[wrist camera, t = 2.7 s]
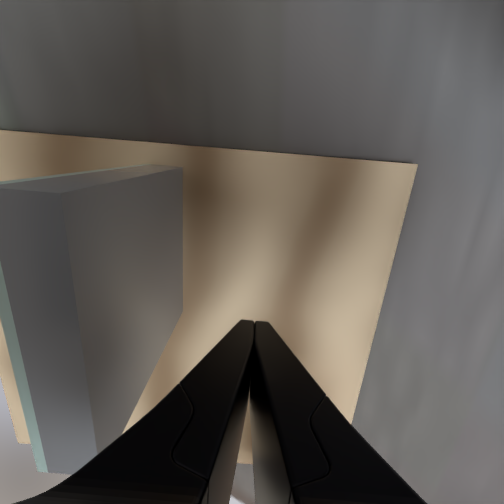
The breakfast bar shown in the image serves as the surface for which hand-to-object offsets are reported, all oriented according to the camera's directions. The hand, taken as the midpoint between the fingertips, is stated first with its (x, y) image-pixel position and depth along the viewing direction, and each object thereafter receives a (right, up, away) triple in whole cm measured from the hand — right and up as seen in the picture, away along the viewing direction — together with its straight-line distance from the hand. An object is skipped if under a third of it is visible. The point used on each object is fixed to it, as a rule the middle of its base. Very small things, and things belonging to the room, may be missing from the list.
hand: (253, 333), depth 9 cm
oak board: (-4, -2, +9) cm, 10 cm away
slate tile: (-5, +3, +7) cm, 9 cm away
